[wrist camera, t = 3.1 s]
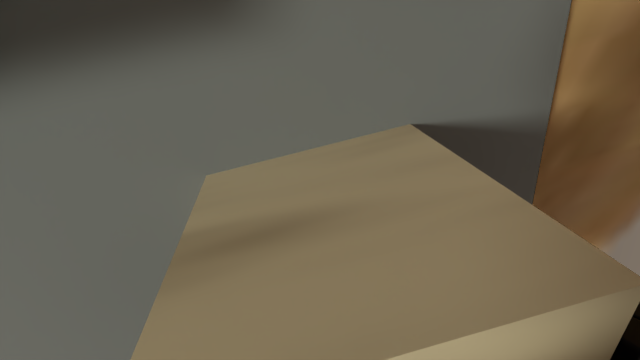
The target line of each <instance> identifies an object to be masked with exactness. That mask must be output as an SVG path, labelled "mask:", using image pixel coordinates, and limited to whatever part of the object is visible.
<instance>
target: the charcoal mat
mask: <svg viewBox="0 0 640 360" xmlns="http://www.w3.org/2000/svg"><path fill="white" fill-rule="evenodd" d="M570 5H571V0H0V360H130V359H131V357H132V355H133V352H134V350H135V347H136V345H137V342H138V340H139V338H140V335H141V333H142V330H143V328H144V326H145V323H146V321H147V318H148V316H149V313H150V311H151V309H152V306H153V304H154V301H155V299H156V296H157V294H158V292H159V289H160V287H161V284H162V282H163V279H164V277H165V275H166V272H167V270H168V267H169V265H170V263H171V260H172V258H173V255H174V253H175V250H176V248H177V246H178V243H179V241H180V238H181V236H182V233H183V231H184V229H185V226H186V224H187V221H188V219H189V216H190V214H191V212H192V209H193V207H194V204H195V202H196V200H197V197H198V195H199V192H200V190H201V187H202V185H203V183H204V180H205V178H206V175H210V174H214V173H218V172H222V171H226V170H230V169H234V168H238V167H242V166H246V165H250V164H254V163H258V162H262V161H266V160H270V159H274V158H278V157H282V156H286V155H290V154H294V153H298V152H302V151H306V150H309V149H313V148H317V147H321V146H325V145H329V144H333V143H337V142H341V141H345V140H349V139H353V138H357V137H361V136H365V135H369V134H373V133H377V132H381V131H385V130H389V129H393V128H397V127H401V126H405V125H408V124H411V125H413V126H414V127H416V128H417V129H419V130H420V131H422V132H423V133H425V134H426V135H428V136H429V137H431V138H432V139H434V140H435V141H437V142H438V143H440V144H441V145H443V146H444V147H446V148H447V149H449V150H450V151H452V152H453V153H455V154H456V155H458V156H459V157H461V158H462V159H464V160H465V161H467V162H468V163H470V164H471V165H473V166H474V167H476V168H477V169H479V170H480V171H482V172H483V173H485V174H486V175H488V176H489V177H491V178H492V179H494V180H495V181H497V182H498V183H500V184H501V185H503V186H504V187H506V188H507V189H509V190H510V191H512V192H513V193H515V194H516V195H518V196H520V197H521V198H523V199H524V200H526V201H527V202H529V203H530V204H532V203H533V198H534V193H535V188H536V182H537V177H538V172H539V167H540V162H541V156H542V151H543V146H544V141H545V136H546V130H547V125H548V120H549V115H550V110H551V104H552V99H553V94H554V89H555V84H556V78H557V73H558V68H559V63H560V57H561V52H562V47H563V42H564V37H565V31H566V26H567V21H568V16H569V11H570Z"/></svg>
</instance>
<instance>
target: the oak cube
mask: <svg viewBox="0 0 640 360" xmlns="http://www.w3.org/2000/svg"><path fill="white" fill-rule="evenodd" d="M639 302H640V276H639V275H637V274H636V273H634V272H633V271H631V270H630V269H628V268H626V267H625V266H623V265H622V264H620V263H619V262H617V261H616V260H614V259H613V258H611V257H610V256H608V255H607V254H605V253H604V252H602V251H601V250H599V249H598V248H596V247H595V246H593V245H592V244H590V243H589V242H587V241H586V240H584V239H583V238H581V237H580V236H578V235H577V234H575V233H574V232H572V231H571V230H569V229H568V228H566V227H565V226H563V225H562V224H560V223H559V222H557V221H556V220H554V219H553V218H551V217H550V216H548V215H547V214H545V213H544V212H542V211H541V210H539V209H538V208H536V207H535V206H533V205H532V204H530V203H529V202H527V201H526V200H524V199H523V198H521V197H520V196H518V195H516V194H515V193H513V192H512V191H510V190H509V189H507V188H506V187H504V186H503V185H501V184H500V183H498V182H497V181H495V180H494V179H492V178H491V177H489V176H488V175H486V174H485V173H483V172H482V171H480V170H479V169H477V168H476V167H474V166H473V165H471V164H470V163H468V162H467V161H465V160H464V159H462V158H461V157H459V156H458V155H456V154H455V153H453V152H452V151H450V150H449V149H447V148H446V147H444V146H443V145H441V144H440V143H438V142H437V141H435V140H434V139H432V138H431V137H429V136H428V135H426V134H425V133H423V132H422V131H420V130H419V129H417V128H416V127H414V126H413V125H411V124H408V125H405V126H401V127H397V128H393V129H389V130H385V131H381V132H377V133H373V134H369V135H365V136H361V137H357V138H353V139H349V140H345V141H341V142H337V143H333V144H329V145H325V146H321V147H317V148H313V149H309V150H306V151H302V152H298V153H294V154H290V155H286V156H282V157H278V158H274V159H270V160H266V161H262V162H258V163H254V164H250V165H246V166H242V167H238V168H234V169H230V170H226V171H222V172H218V173H214V174H210V175H206V178H205V180H204V183H203V185H202V187H201V190H200V192H199V195H198V197H197V200H196V202H195V204H194V207H193V209H192V212H191V214H190V216H189V219H188V221H187V224H186V226H185V229H184V231H183V233H182V236H181V238H180V241H179V243H178V246H177V248H176V250H175V253H174V255H173V258H172V260H171V263H170V265H169V267H168V270H167V272H166V275H165V277H164V279H163V282H162V284H161V287H160V289H159V292H158V294H157V296H156V299H155V301H154V304H153V306H152V309H151V311H150V313H149V316H148V318H147V321H146V323H145V326H144V328H143V330H142V333H141V335H140V338H139V340H138V342H137V345H136V347H135V350H134V352H133V355H132V357H131V359H130V360H610V358H611V357H612V355H613V353H614V351H615V349H616V347H617V345H618V343H619V341H620V339H621V337H622V335H623V333H624V331H625V329H626V327H627V325H628V323H629V322H630V320H631V318H632V316H633V314H634V312H635V310H636V308H637V306H638V304H639Z"/></svg>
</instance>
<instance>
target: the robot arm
mask: <svg viewBox="0 0 640 360" xmlns="http://www.w3.org/2000/svg"><path fill="white" fill-rule="evenodd" d="M610 360H640V302H639V304H638V306H637V308H636V310H635V312H634V314H633V316H632V318H631V320H630V322H629V323H628V325H627V327H626V329H625V331H624V333H623V335H622V337H621V339H620V341H619V343H618V345H617V347H616V349H615V351H614V353H613V355H612V357H611V358H610Z"/></svg>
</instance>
